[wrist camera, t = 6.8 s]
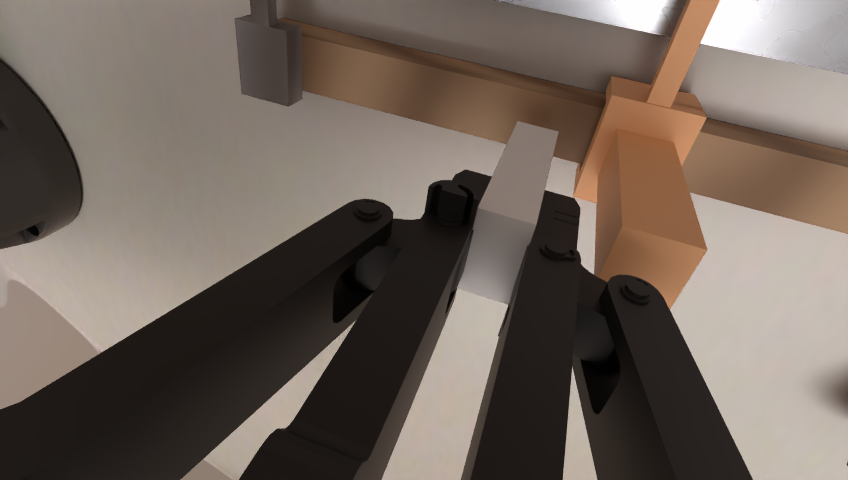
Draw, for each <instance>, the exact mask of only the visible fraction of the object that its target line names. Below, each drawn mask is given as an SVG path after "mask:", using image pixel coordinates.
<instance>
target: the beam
mask: <svg viewBox="0 0 848 480" xmlns="http://www.w3.org/2000/svg"><path fill="white" fill-rule="evenodd" d="M250 5H251V15H247V16H243V17H239V18H235V25H236V36H237V47H238V58H239V69H240V80H241V91H242V94H244V95H248V96H252V97H255V98H259V99H263V100H266V101H270V102H274V103H277V104H281V105H285V106H288V107H289V106H290V105H292V104H294V103H296V102H298V101H299V100H301V99H302V90H303V91H307V92H310V93H314V94H318V95H322V96H326V97H329V98H333V99H337V100H341V101H345V102H348V103H352V104H356V105H360V106H364V107H367V108H371V109H375V110H379V111H383V112H386V113H390V114H394V115H398V116H402V117H406V118H409V119H413V120H417V121H421V122H425V123H428V124H432V125H436V126H440V127H444V128H447V129H451V130H455V131H459V132H463V133H466V134H470V135H474V136H478V137H482V138H485V139H489V140H493V141H497V142H501V143H504V144H507V143H508V141H509V139H510V137H511V135H512V132H513V130H514V128H515V126H516V124H517V122H518V121H519V122H523V123H527V124H531V125H535V126H539V127H543V128H547V129H551V130H555V131H558V136H557V140H556V144H555V149H554V153H553V156H554V157H558V158H561V159H565V160H569V161H573V162H577V163H580V164H583V162H584V160H585V157H586V154H587V152H588V149H589V146H590V144H591V141H592V138H593V136H594V133H595V130H596V128H597V125H598V123H599V120H600V117H601V115H602V112H603V109H604V107H605V104H606V94H602V93H598V92H594V91H590V90H585V89H581V88H577V87H573V86H568V85H564V84H560V83H556V82H551V81H547V80H543V79H539V78H535V77H530V76H526V75H522V74H518V73H513V72H509V71H505V70H501V69H496V68H492V67H488V66H484V65H479V64H475V63H471V62H467V61H462V60H458V59H454V58H450V57H445V56H441V55H437V54H433V53H428V52H424V51H420V50H416V49H411V48H407V47H403V46H399V45H394V44H390V43H386V42H382V41H377V40H373V39H369V38H365V37H360V36H356V35H352V34H348V33H343V32H339V31H335V30H331V29H326V28H322V27H318V26H314V25H309V24H305V23H301V22H297V21H292V20H288V19H284V18H280V19H277V13H276V0H250ZM681 167H682V170H683V173H684V176H685V179H686V183H687V186H688V189H689V192H691V193H694V194H698V195H702V196H706V197H710V198H713V199H717V200H721V201H725V202H729V203H732V204H736V205H740V206H744V207H748V208H751V209H755V210H759V211H763V212H767V213H770V214H774V215H778V216H782V217H786V218H789V219H793V220H797V221H801V222H805V223H808V224H812V225H816V226H820V227H824V228H827V229H831V230H835V231H839V232H843V233H846V234H848V151H844V150H840V149H836V148H832V147H828V146H823V145H819V144H815V143H811V142H806V141H802V140H798V139H794V138H789V137H785V136H781V135H777V134H772V133H768V132H764V131H760V130H755V129H751V128H747V127H743V126H738V125H734V124H730V123H726V122H721V121H717V120H713V119H709V118H706V120H705V122H704V124H703V126H702V128H701V130H700V132H699V134H698V136H697V138H696V140H695V141H694V143H693V145H692V147H691V149H690V151H689V153H688V155H687V157H686V159H685V161H684V163H683V165H682V166H681Z"/></svg>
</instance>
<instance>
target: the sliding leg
mask: <svg viewBox="0 0 848 480" xmlns="http://www.w3.org/2000/svg"><path fill="white" fill-rule="evenodd" d="M719 2H720V0H687V2H686V4H685V6H684V9H683V11H682V13H681V16H680V18H679V20H678V23H677V25H676V27H675V30H674V32H673V34H672V37H671V39H670V41H669V44H668V46H667V48H666V51H665V53H664V55H663V58H662V60H661V62H660V65H659V67H658V70H657V72H656V74H655V77H654V79H653V81H652V84H651V85H650V84H645V83H641V82H636V81H632V80H628V79H623V78H619V77H615V76H611V78H610V81H609V84H608V86H607V89H606V104H605V107H604V109H603V112H602V115H601V117H600V120H599V123H598V125H597V128H596V130H595V133H594V136H593V138H592V141H591V144H590V146H589V149H588V152H587V154H586V157H585V160H584V162H583V164H580V163H579V164H578V167H577V170H576V178H575V186H574V194H573V197H576V198H580V199H583V200H587V201H591V202H594V203H597V212H596V239H595V267H594V275H595V276H597V277H599V278H600V279H602V280H604V281H606V282H608V281H609V279H610V278H611V277H612V276H615V275H618V274H620V275H631V276H635V277H638V278H641V279H643V280H645V281H647V282H649V283H650V284H651V285H653V286H654V287H655V288H656V289H658V291H659V292H660V293H661V295H662V296H663V297H664V299H665V301H666V303H667V305H668V307H669V309H670V308H671V307H672V305H673V304H674V302H675V301H676V299H677V297H678V296H679V294H680V293H681V291H682V289H683V288H684V286H685V285H686V283H687V281H688V280H689V278H690V277H691V275H692V273H693V272H694V270H695V269H696V267H697V266H698V264H699V262H700V261H701V259H702V258H703V256H704V254H705V253H706V251H707V247H706V244H705V241H704V238H703V234H702V231H701V228H700V225H699V221H698V218H697V215H696V212H695V208H694V205H693V202H692V199H691V196H690V192H689V189H688V186H687V183H686V179H685V176H684V173H683V170H682V167H681V166H682V165H683V163H684V161H685V159H686V157H687V155H688V153H689V151H690V149H691V147H692V145H693V143H694V141H695V140H696V138H697V136H698V134H699V132H700V130H701V128H702V126H703V124H704V122H705V120H706V118H707V117H706V115H705V113H704V111H703V109H702V107H701V105H700V103H699V101H698V99H697V98H696V96H695V95H693V94H689V93H685V92H680V91H678V90H679V88H680V86H681V84H682V82H683V80H684V77H685V75H686V73H687V71H688V69H689V67H690V65H691V62H692V60H693V58H694V56H695V54H696V52H697V49H698V47H699V45H700V43H701V41H702V39H703V37H704V34H705V32H706V30H707V28H708V26H709V24H710V21H711V19H712V17H713V15H714V13H715V11H716V9H717V6H718V4H719Z"/></svg>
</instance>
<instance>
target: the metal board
mask: <svg viewBox="0 0 848 480" xmlns="http://www.w3.org/2000/svg"><path fill="white" fill-rule="evenodd" d="M496 1H500V2H505V3H510V4H515V5H519V6H524V7H529V8H534V9H538V10H543V11H548V12H553V13H557V14H562V15H567V16H572V17H577V18H581V19H586V20H591V21H596V22H600V23H605V24H610V25H615V26H619V27H624V28H629V29H634V30H638V31H643V32H648V33H653V34H658V35H662V36H667V37H672V34H673V32H674V30H675V27H676V25H677V23H678V20H679V18H680V16H681V13H682V11H683V9H684V6H685V4H686V2H687V0H496ZM700 44H705V45H710V46H715V47H720V48H724V49H729V50H734V51H739V52H743V53H748V54H753V55H758V56H762V57H767V58H772V59H777V60H781V61H786V62H791V63H796V64H801V65H805V66H810V67H815V68H820V69H824V70H829V71H834V72H839V73H843V74H848V0H720V2H719V4H718V6H717V9H716V11H715V13H714V15H713V17H712V19H711V21H710V24H709V26H708V28H707V30H706V32H705V34H704V37H703V39H702V41H701V43H700Z"/></svg>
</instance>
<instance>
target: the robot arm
mask: <svg viewBox="0 0 848 480" xmlns="http://www.w3.org/2000/svg"><path fill="white" fill-rule="evenodd" d="M557 136H558V131H555V130H551V129H547V128H543V127H539V126H535V125H531V124H527V123H523V122H519V121H518V122H517V124H516V126H515V128H514V130H513V132H512V135H511V137H510V139H509V141H508V143H507V145H506V148H505V150H504V152H503V154H502V156H501V158H500V161H499V163H498V165H497V167H496V169H495V171H494V174H493V176H492V177H491V176H487V175H484V174H480V173H476V172H473V171H469V170H464V171H462V172H460V173H458V174H456V175H455V176H454V178H453V180H441V181H437V182H434V183H432V184H431V185H430V186H429V188H428V194H427V200H426V206H425V212H424V214H423V216H422V218H421V219H416V220H403V219H393V211H392V210H391V208H390V207H389V206H387V205H386V204H384V203H382V202H379V201H376V200H372V199H371V200H370V199H360V200H354V201H352V202H349V203H347V204H346V205H344V206H342V207H341V208H339V209H337V210H336V211H334V212H332V213H331V214H329V215H328V216H326V217H324V218H323V219H321V220H319V221H318V222H316V223H314V224H313V225H311V226H309V227H308V228H306V229H304V230H303V231H301V232H300V233H298V234H296V235H295V236H293V237H291V238H290V239H288V240H286V241H285V242H283V243H281V244H280V245H278V246H276V247H275V248H273V249H272V250H270V251H268V252H267V253H265V254H263V255H262V256H260V257H258V258H257V259H255V260H253V261H252V262H250V263H248V264H247V265H245V266H243V267H242V268H240V269H239V270H237V271H235V272H234V273H232V274H230V275H229V276H227V277H225V278H224V279H222V280H220V281H219V282H217V283H215V284H214V285H212V286H211V287H209V288H207V289H206V290H204V291H202V292H201V293H199V294H197V295H196V296H194V297H192V298H191V299H189V300H187V301H186V302H184V303H183V304H181V305H179V306H178V307H176V308H174V309H173V310H171V311H169V312H168V313H166V314H164V315H163V316H161V317H159V318H158V319H156V320H155V321H153V322H151V323H150V324H148V325H146V326H145V327H143V328H141V329H140V330H138V331H136V332H135V333H133V334H131V335H130V336H128V337H127V338H125V339H123V340H122V341H120V342H118V343H117V344H115V345H113V346H112V347H110V348H108V349H107V350H105V351H103V352H102V353H100V354H99V355H97V356H95V357H94V358H92V359H90V360H89V361H87V362H85V363H84V364H82V365H80V366H79V367H77V368H76V369H74V370H72V371H71V372H69V373H67V374H66V375H64V376H62V377H61V378H59V379H57V380H56V381H54V382H52V383H51V384H49V385H47V386H46V387H44V388H42V389H41V390H39V391H38V392H36V393H34V394H33V395H31V396H29V397H28V398H26V399H24V400H23V401H21V402H19V403H17V404H14V405H11V406H9V407H6V408H3V409H0V480H180V479H182V478H183V477H184V476H185V475H186V474H187V473H188V472H189V471H190V470H191V469H192V468H194V467H195V466H196V465H197V464H198V463H199V462H200V461H201V460H202V459H204V458H205V457H206V456H207V455H208V454H209V453H210V452H211V451H212V450H213V449H215V448H216V447H217V446H218V445H219V444H220V443H221V442H222V441H223V440H224V439H226V438H227V437H228V436H229V435H230V434H231V433H232V432H233V431H234V430H235V429H237V428H238V427H239V426H240V425H241V424H242V423H243V422H244V421H245V420H246V419H248V418H249V417H250V416H251V415H252V414H253V413H254V412H255V411H256V410H258V409H259V408H260V407H261V406H262V405H263V404H264V403H265V402H266V401H267V400H269V399H270V398H271V397H272V396H273V395H274V394H275V393H276V392H277V391H278V390H280V389H281V388H282V387H283V386H284V385H285V384H286V383H287V382H288V381H289V380H291V379H292V378H293V377H294V376H295V375H296V374H297V373H298V372H299V371H300V370H302V369H303V368H304V367H305V366H306V365H307V364H308V363H309V362H310V361H311V360H313V359H314V358H315V357H316V356H317V355H318V354H319V353H320V352H321V351H322V350H324V349H325V348H326V347H327V346H328V345H329V344H330V343H331V342H332V341H333V340H335V339H336V338H337V337H338V336H339V335H340V334H341V333H342V332H343V331H345V330H346V329H347V328H348V327H349V326H350V325H351V324H352V323H353V322H354V321H356V322H355V323H354V325H353V327H352V328H351V330H350V331H349V333H348V335H347V336H346V338H345V339H344V341H343V342H342V344H341V346H340V347H339V349H338V350H337V352H336V353H335V355H334V357H333V358H332V360H331V361H330V363H329V365H328V366H327V368H326V369H325V371H324V372H323V374H322V376H321V377H320V379H319V380H318V382H317V384H316V385H315V387H314V388H313V390H312V391H311V393H310V395H309V396H308V398H307V399H306V401H305V402H304V404H303V406H302V407H301V409H300V410H299V412H298V414H297V415H296V417H295V418H294V420H293V421H292V422H291V424H290V425H289V426H288V427H287V428H283V429H276V430H275V431H274V432H273V433H271V434H270V435H269V437H268V438H267V439H266V440H265V442H264V443H263V444H262V446H261V447H260V448H259V450H258V451H257V453H256V454H255V456H254V458H253V459H252V461H251V462H250V464H249V465H248V467H247V468H246V470H245V471H244V473H243V474H242V476H241V477H240V479H239V480H381V479H382V477H383V474H384V472H385V469H386V467H387V464H388V462H389V459H390V457H391V455H392V452H393V450H394V447H395V445H396V442H397V440H398V437H399V435H400V432H401V430H402V427H403V425H404V422H405V420H406V418H407V415H408V413H409V410H410V408H411V405H412V403H413V400H414V398H415V395H416V393H417V390H418V388H419V386H420V383H421V381H422V378H423V376H424V373H425V371H426V368H427V366H428V363H429V361H430V358H431V356H432V354H433V351H434V349H435V346H436V344H437V341H438V339H439V336H440V334H441V331H442V329H443V326H444V324H445V321H446V319H447V317H448V314H449V312H450V309H451V307H452V304H453V302H454V299H455V295H456V291H457V287H458V289H461V290H465V291H468V292H471V293H474V294H477V295H480V296H483V297H486V298H489V299H492V300H495V301H498V302H502V303H505V304H508V308H507V311H506V314H505V317H504V320H503V323H502V326H501V328H500V331H499V334H498V336H499V339H498V343H497V347H496V350H495V354H494V358H493V362H492V365H491V369H490V373H489V377H488V380H487V384H486V388H485V392H484V395H483V399H482V403H481V407H480V410H479V414H478V418H477V422H476V425H475V429H474V433H473V436H472V440H471V444H470V448H469V451H468V455H467V459H466V463H465V466H464V470H463V474H462V478H461V480H563V468H564V456H565V445H566V433H567V421H568V409H569V397H570V385H571V373H572V366H573V371H574V375H575V380H576V384H577V389H578V393H579V398H580V402H581V407H582V411H583V416H584V420H585V425H586V429H587V434H588V438H589V443H590V447H591V452H592V456H593V461H594V465H595V470H596V475H597V479H598V480H753V479H752V477H751V475H750V473H749V471H748V469H747V467H746V465H745V462H744V460H743V458H742V456H741V454H740V452H739V450H738V448H737V446H736V444H735V442H734V440H733V438H732V436H731V434H730V432H729V430H728V428H727V426H726V424H725V422H724V420H723V418H722V416H721V414H720V411H719V409H718V407H717V405H716V403H715V401H714V399H713V397H712V395H711V393H710V391H709V389H708V387H707V385H706V383H705V381H704V379H703V377H702V375H701V373H700V371H699V369H698V367H697V365H696V362H695V360H694V358H693V356H692V354H691V352H690V350H689V348H688V346H687V344H686V342H685V340H684V338H683V336H682V334H681V332H680V330H679V328H678V326H677V324H676V322H675V320H674V318H673V316H672V314H671V311H670V309H669V307H668V305H667V303H666V301H665V299H664V297H663V296H662V295H661V293H660V292H659V291H658V289H656V288H655V287H654V286H653V285H651V284H650V283H649V282H647V281H645V280H643V279H641V278H638V277H635V276H631V275H620V274H618V275H615V276H612V277H611V278H610V279H609V281H608V282H606V281H604V280H602V279H600V278H599V277H597V276H595V275H593V274H592V273H590V272H589V271H588V270H586V269H585V268H584V267H583V266H582V265H581V257H580V253H579V252H578V251H577V239H578V229H579V218H580V207H579V205H578V203H577V202H576V200H575V198H571V197H567V196H564V195H560V194H557V193H553V192H549V191H546V190H545V186H546V182H547V178H548V174H549V170H550V165H551V161H552V157H553V153H554V149H555V144H556V140H557ZM80 203H81V188H80V181H79V177H78V173H77V169H76V166H75V163H74V161H73V158H72V156H71V153H70V151H69V149H68V147H67V145H66V143H65V141H64V139H63V137H62V135H61V133H60V132H59V130H58V128H57V127H56V125H55V124H54V122H53V120H52V119H51V117H50V116H49V115H48V113H47V112H46V110H45V109H44V108H43V106H42V105H41V104H40V102H39V101H38V100H37V99H36V97H35V96H34V95H33V94H32V93H31V91H30V90H29V89H28V88H27V87H26V86H25V85H24V84H23V83H22V81H21V80H20V79H19V78H18V77H17V76H16V75H15V74H14V73H13V72H12V71H11V70H9V69H8V68H7V67H6V66H5V65H4V64H3V63H2V62H1V61H0V249H4V248H8V247H12V246H17V245H21V244H25V243H30V242H34V241H37V240H40V239H42V238H44V237H46V236H48V235H50V234H52V233H53V232H55V231H57V230H59V229H61V228H63V227H64V226H66V225H68V224H69V223H71V222H72V221H73V220H74V219H75V217H76V216H77V214H78V211H79V208H80ZM458 284H459V286H458Z"/></svg>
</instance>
